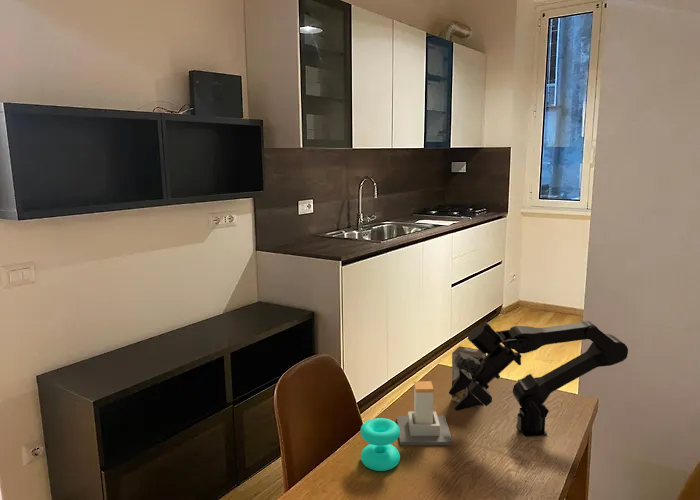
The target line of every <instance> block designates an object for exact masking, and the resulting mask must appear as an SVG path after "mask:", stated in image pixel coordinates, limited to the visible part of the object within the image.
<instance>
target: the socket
mask: <svg viewBox="0 0 700 500" xmlns="http://www.w3.org/2000/svg"><path fill="white" fill-rule="evenodd" d="M396 424H397V425H398V426H399V428H400V435H399V437H398V439H399V446H453V443H454V442H453V439H452V435H451V432H450V428H449V425H448V422H447V419H446V415H438V413H437V411H434V410H433V424H414V411H408V412H407V415H396Z"/></svg>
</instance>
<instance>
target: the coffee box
mask: <svg viewBox="0 0 700 500" xmlns="http://www.w3.org/2000/svg"><path fill="white" fill-rule="evenodd" d="M459 352H462V353H465V354H467V355H469V356H472V357H473V358H475V359H478V358H479V357H480V356H482V357H483V358H484V357H485V356H487V353H485V354H483V353H482V352H481V351H480V350H479V349H478V348H477V349H476V348H471V347H467V346H466V347H465V346H460V345H459V346H458V347H457V348H456V349H454V351H453V352H452V353H451V387H452V386H453V384H454V382H455V381H456V379H457V377H458V367H456V363H455V362H454V361H455V359H456V357H457V355H458V353H459ZM468 388H469V387H468ZM465 394H466V388H465V389H464V390H462V391H460V392H458V393H456V394H453V395H451V401H453V402H456V403H458V402H459V401H460V400H461V399H462V398H463V397H464V395H465ZM476 407H478V408H480V406H476Z"/></svg>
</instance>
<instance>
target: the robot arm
mask: <svg viewBox="0 0 700 500" xmlns="http://www.w3.org/2000/svg"><path fill="white" fill-rule="evenodd" d="M467 340H468V342H470V343H471V344H472V345H473V346H475V347H476V348H477V349H478V350H480V351H481V352H482V353H483V354H485V353H486V356H485V357H484V358H483V357H482V356H480V357H479V358H478V359H475V358H473V357H472V356H469V355H467V354H465V353H462V352H459V353H458V355H457V357H456V359H455V361H454V362H455V363H456V367H458V377H457V379H456V381H455V382H454V384H453V386H452V385H451V387H450V389H449V391H448V394H449V396H452V395H453V394H456V393H458V392H460V391H462V390H464V389H465V388H466V394H465V395H464V397H463V398H462V399H461V400H460V401H459V402H456V403H457V404H456V405H455V406H454V410H455V411H456V412H459V411H462V410H466V409H470V408H475V407H477V406H479V407H488V406H489V405H490V404H491V403H492V402H493V396H492V394H491V393H490V390H488V389H489V388H490V385H489V383H491V382H492V381H493V380H494V379H495V378H496V379H497V380H499V379H500V378H501V375H500V374H501V373H502V372H503V371H504V370H505V369H507V367H508V366H509V365H511V364H512V363H513V362H515V363H516V364H517V366H521V365H522V354H528V353H530V352H531V353H532V352H534V351H537V350H538V349H540V348H542V347H543V346H547V345H555V344H562V343H569V342H576V341H585V340H590V341H591V342H592V343H591V344H590V346H589V347H588V348H587V350H586V351H585V352H583V353H582V354H580V355H578V356H576V357H574V358H573V359H570V360H569V361H567V362H565V363H564V364H562V365H559V366H558V367H556V368H554V369H552V370H551V371H549V372H547V373H545V374H544V375H542V376H538V377H534V376H533V375H532V374H531V373H529V374H527V375H525V376H524V377H523V378H521V379H517V382H516V383H515V384H514V385H513V387H512V394H513V397H514V399H515V401H516V402H517V403H518V405H519V406H520V407H519V412H518V413H517V421H516V424H515V426H516V427H517V429H518V430H519V432H521V433H522V435H523V436H524V437H527V438H528V437H530V438H531V437H543V436H544V437H545V436H548V432H547V431H546V418H547V416H548V414H549V409H548V408H547V406H546V405H545V402H546V400H548V398H549V396H550V395H551V393H553V392H555V391H556V390H558V389H560V388H562V387H564V386H566V385H568V384H569V383H572V382H573V381H574V380H577V379H579V378H580V377H582V376H584V375H585V374H587V373H590V372H591V371H593V370H595V369H596V368H600V367H611V366H614V365H617V364H620V363H622V362H624V361H625V360H626V359H627V358H628V353H629V349H628V346H627V345H626V344H625V342H623V341H621V340H620V339H618V337H616V336H615V335H612V334H610V333H604V332H603V331H602V330H600V329H599V327H597V326H596V325H595V324H594V323H592V322H591V321H589V320H584V321H581V322H576V323H575V322H574V323H568V324H562V325H561V324H560V325H554V326H553V325H552V326H547V327H534V326H529V325H515V326H512V327H510V329H505V330H499V331H495V330H494V329H493V327H492V326H491V325H490V324H489V323H488V322H487V321H485V322H483V324H479V325H477V326H475V327H473V328H472V329H471V331H470V332H469V333H468V336H467ZM468 387H469V388H468Z"/></svg>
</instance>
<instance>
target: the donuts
mask: <svg viewBox="0 0 700 500" xmlns="http://www.w3.org/2000/svg"><path fill="white" fill-rule="evenodd" d="M359 432H360V436H361V438H362V439H363V440H364V441H365V442H366V443H368V445H366V446H365V447H364V448H363V449H362V451H361V453H360V459H361V463H362V464H363V465H364V466H365V467H366V468H367V469H370V470H372V471H377V472H384V471H390V470H392V469H394V468H395V467H396V466H398V464H399V463H400V460H401V455H400V452H399V450H398V449H397V447H396V446H394V445H393V443H394V442H396V441H398V439H399V435H400V428H399V426H398V424H397V422H395V421H394V420H391V419H389V418H383V417H377V418H371V419H368V420H366V421H365V422H364V423H363V424H362V425H361V427H360V431H359Z"/></svg>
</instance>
